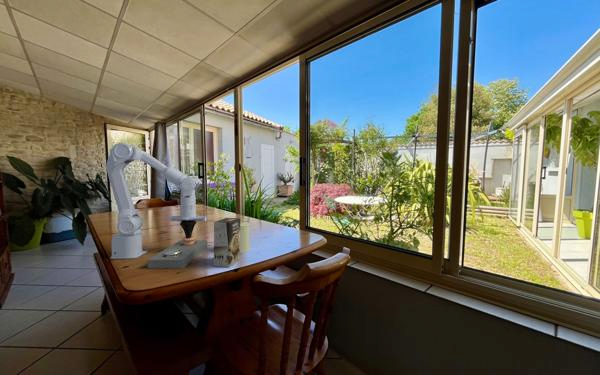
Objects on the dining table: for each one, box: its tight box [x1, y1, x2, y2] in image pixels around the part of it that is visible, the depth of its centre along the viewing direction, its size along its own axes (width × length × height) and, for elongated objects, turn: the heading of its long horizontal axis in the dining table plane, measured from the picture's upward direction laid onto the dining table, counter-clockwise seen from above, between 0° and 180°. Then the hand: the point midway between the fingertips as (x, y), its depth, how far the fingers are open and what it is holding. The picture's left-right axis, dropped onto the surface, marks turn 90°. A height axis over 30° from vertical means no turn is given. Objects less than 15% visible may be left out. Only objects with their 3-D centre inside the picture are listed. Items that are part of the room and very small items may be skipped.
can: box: [240, 221, 251, 254], centre depth 105 cm, size 9×9×12 cm
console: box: [147, 239, 208, 269], centre depth 97 cm, size 12×25×3 cm, turn 2°
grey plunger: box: [165, 249, 181, 257], centre depth 90 cm, size 5×5×4 cm
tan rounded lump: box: [181, 235, 196, 246], centre depth 104 cm, size 5×5×4 cm
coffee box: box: [213, 217, 241, 268], centre depth 90 cm, size 9×6×16 cm
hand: (188, 238), depth 103 cm, fingers closed, pressing on tan rounded lump
